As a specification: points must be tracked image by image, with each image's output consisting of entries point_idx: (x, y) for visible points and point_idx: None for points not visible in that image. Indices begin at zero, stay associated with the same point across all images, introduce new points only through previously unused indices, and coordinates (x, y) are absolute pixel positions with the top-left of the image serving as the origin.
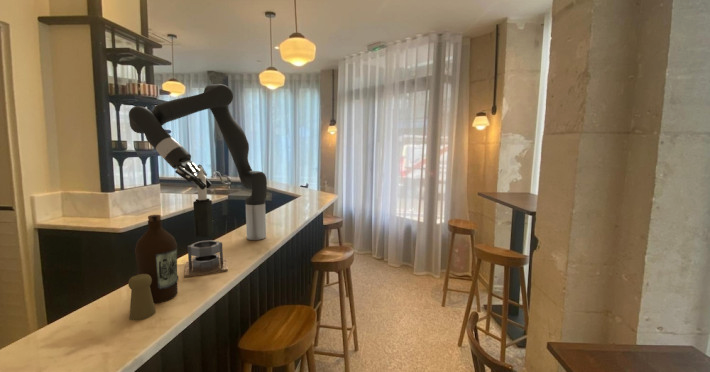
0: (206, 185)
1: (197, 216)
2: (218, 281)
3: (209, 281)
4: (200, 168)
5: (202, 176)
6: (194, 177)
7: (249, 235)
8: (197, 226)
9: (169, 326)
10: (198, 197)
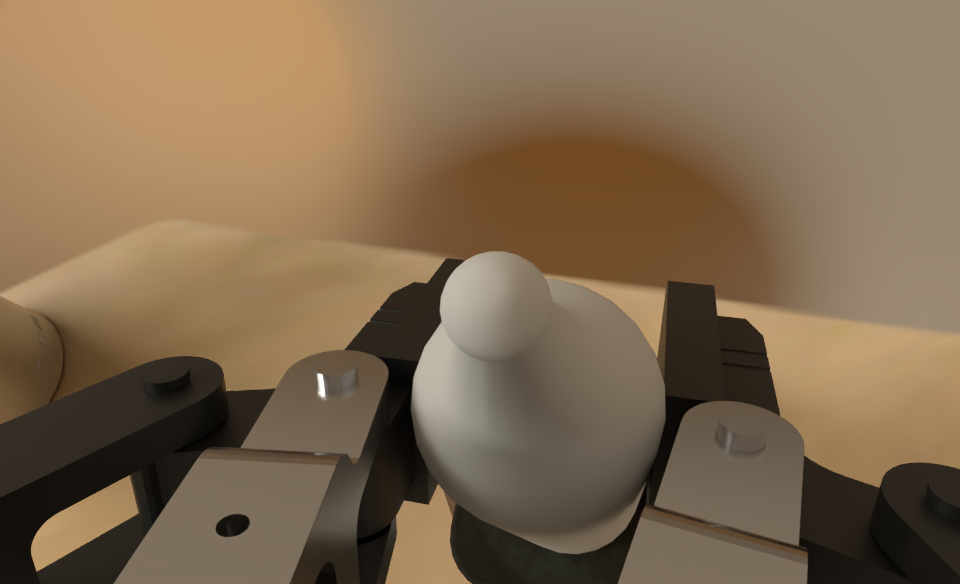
0: (679, 282)
1: None
2: (828, 370)
3: (833, 424)
4: (542, 303)
5: (619, 320)
6: (921, 473)
7: (20, 402)
8: None
9: None
10: (626, 526)
